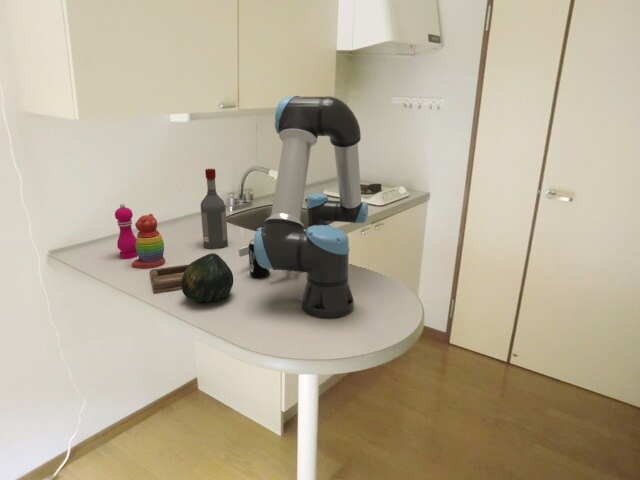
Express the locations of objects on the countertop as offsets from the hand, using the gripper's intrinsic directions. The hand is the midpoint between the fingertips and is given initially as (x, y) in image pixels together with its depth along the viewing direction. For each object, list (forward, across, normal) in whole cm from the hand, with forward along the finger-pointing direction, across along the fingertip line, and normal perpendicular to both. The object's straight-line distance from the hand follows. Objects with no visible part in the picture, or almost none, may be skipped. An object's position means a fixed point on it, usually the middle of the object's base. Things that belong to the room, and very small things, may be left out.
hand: (252, 257), depth 159 cm
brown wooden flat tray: (+18, +17, -7) cm, 26 cm away
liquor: (-11, +36, -7) cm, 38 cm away
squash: (+19, -2, -7) cm, 20 cm away
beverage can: (-3, 0, -7) cm, 8 cm away
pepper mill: (+18, +49, -7) cm, 53 cm away
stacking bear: (+17, +36, -7) cm, 41 cm away
